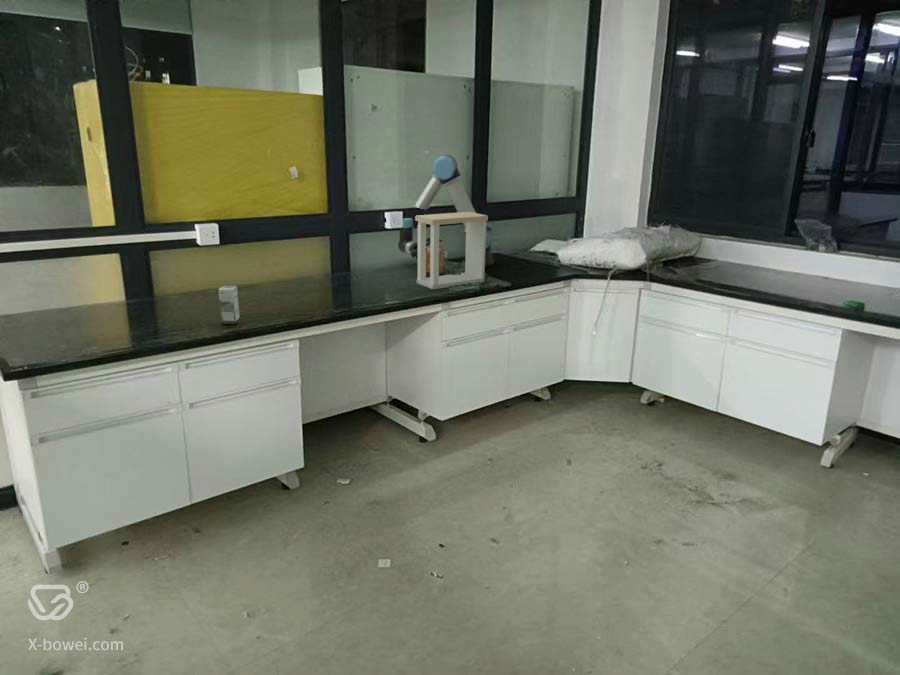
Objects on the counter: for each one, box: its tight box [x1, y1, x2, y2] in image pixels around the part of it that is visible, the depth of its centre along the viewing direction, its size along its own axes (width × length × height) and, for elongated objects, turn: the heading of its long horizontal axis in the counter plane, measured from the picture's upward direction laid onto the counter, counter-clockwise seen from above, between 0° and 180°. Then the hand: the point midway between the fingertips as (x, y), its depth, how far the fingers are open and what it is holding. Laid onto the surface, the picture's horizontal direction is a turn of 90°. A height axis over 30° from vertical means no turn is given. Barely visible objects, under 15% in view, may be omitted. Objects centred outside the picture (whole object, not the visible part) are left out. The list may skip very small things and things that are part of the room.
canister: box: [426, 236, 444, 277], centre depth 331 cm, size 9×11×20 cm
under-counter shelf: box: [415, 212, 489, 290], centre depth 315 cm, size 32×16×34 cm, turn 123°
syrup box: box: [218, 285, 241, 322], centre depth 248 cm, size 6×6×14 cm
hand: (436, 256), depth 328 cm, fingers open, 12 cm apart
